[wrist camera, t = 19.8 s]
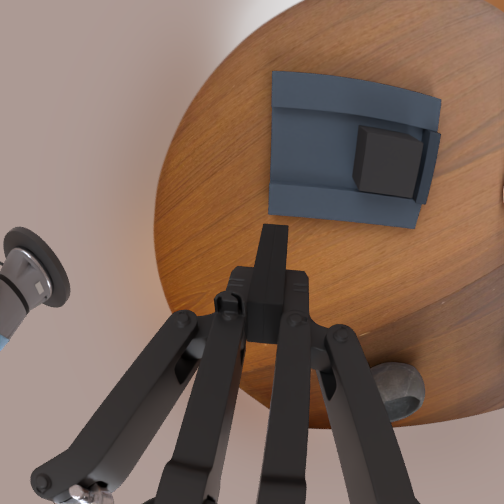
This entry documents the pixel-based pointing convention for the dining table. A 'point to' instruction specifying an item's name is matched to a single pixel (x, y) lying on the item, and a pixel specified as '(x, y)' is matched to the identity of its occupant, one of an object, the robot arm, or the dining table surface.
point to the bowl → (399, 388)
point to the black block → (386, 161)
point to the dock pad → (343, 147)
